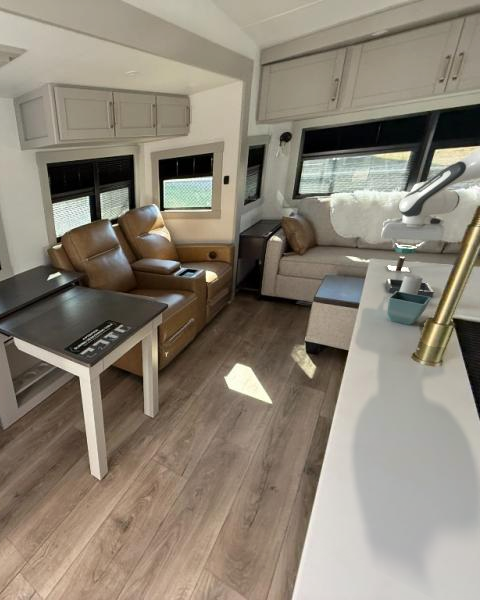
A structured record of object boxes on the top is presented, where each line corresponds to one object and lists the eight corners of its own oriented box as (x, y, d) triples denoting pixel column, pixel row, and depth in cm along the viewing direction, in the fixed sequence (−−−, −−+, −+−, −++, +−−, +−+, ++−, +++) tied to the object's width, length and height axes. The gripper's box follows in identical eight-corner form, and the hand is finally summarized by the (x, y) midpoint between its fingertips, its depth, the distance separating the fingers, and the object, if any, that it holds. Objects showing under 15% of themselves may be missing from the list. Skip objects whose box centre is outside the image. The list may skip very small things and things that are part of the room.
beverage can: (391, 304, 122) (401, 275, 117) (402, 303, 122) (412, 273, 118) (404, 309, 118) (415, 279, 113) (416, 307, 118) (427, 277, 113)
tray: (426, 288, 132) (428, 282, 131) (431, 298, 124) (433, 292, 123) (385, 284, 140) (387, 278, 139) (388, 293, 131) (389, 287, 130)
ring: (413, 250, 150) (414, 245, 149) (415, 253, 146) (417, 248, 145) (394, 249, 154) (396, 244, 153) (396, 252, 149) (397, 247, 148)
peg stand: (407, 269, 154) (411, 256, 151) (409, 273, 149) (414, 260, 146) (387, 267, 158) (391, 254, 155) (388, 271, 153) (392, 258, 150)
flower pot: (381, 320, 112) (388, 297, 108) (388, 313, 116) (396, 290, 112) (415, 329, 105) (424, 304, 101) (422, 320, 109) (431, 297, 106)
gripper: (385, 219, 148) (377, 248, 153) (449, 220, 136) (438, 251, 141) (383, 217, 152) (376, 245, 157) (446, 218, 140) (435, 248, 145)
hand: (406, 248), depth 149 cm, fingers closed on ring, 6 cm apart
